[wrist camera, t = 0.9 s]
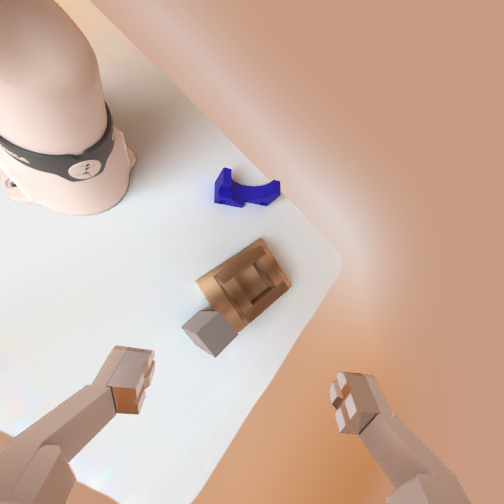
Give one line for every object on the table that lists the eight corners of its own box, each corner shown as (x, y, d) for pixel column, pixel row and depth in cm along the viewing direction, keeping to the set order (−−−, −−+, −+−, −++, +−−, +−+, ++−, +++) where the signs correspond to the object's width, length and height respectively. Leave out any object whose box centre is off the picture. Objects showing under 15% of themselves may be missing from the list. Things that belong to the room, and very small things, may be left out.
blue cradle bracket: (214, 202, 48) (223, 189, 43) (214, 182, 49) (223, 167, 44) (266, 212, 53) (280, 201, 47) (266, 194, 54) (280, 181, 48)
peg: (181, 327, 40) (195, 333, 30) (199, 311, 42) (219, 311, 31) (196, 345, 40) (215, 357, 30) (213, 328, 42) (238, 334, 32)
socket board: (195, 281, 43) (200, 278, 39) (258, 239, 50) (268, 233, 46) (231, 336, 43) (240, 338, 39) (289, 286, 51) (301, 284, 47)
